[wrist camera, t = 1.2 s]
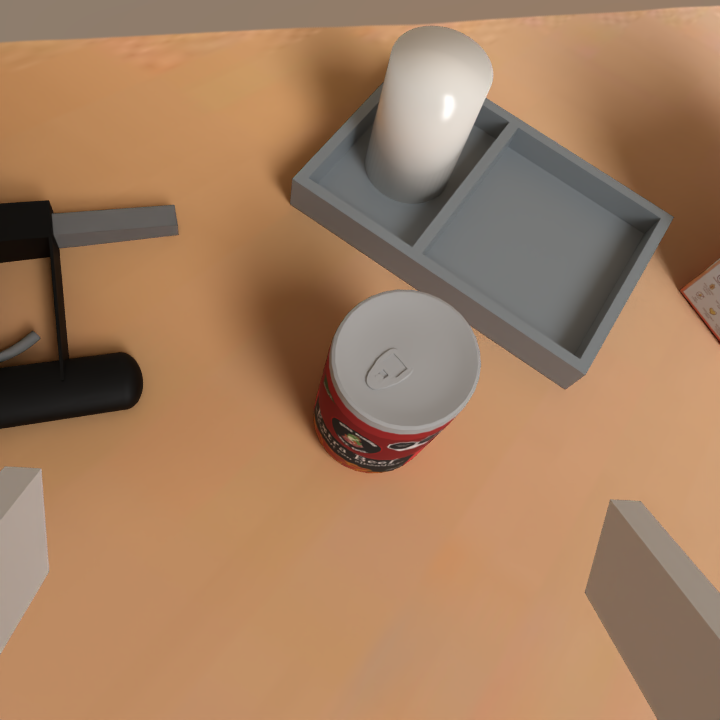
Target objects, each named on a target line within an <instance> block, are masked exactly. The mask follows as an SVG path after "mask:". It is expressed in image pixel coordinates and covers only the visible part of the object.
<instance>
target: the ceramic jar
mask: <svg viewBox="0 0 720 720" xmlns="http://www.w3.org/2000/svg"><path fill="white" fill-rule="evenodd" d="M492 81H493V68H492V64H491V62H490V59H489V57H488V56H487V54H486V53H485V51H484V50H483V49H482V48H481V47H480V45H479V44H477V43H476V42H475V41H474V40H473V39H471V38H470V37H468V36H466V35H465V34H463V33H461V32H458V31H456V30H453V29H450V28H446V27H440V26H423V27H418V28H414V29H412V30H409V31H407V32H406V33H404V34H403V35H402V36H400V37H399V38H398V40H397V41H396V42H395V44H394V46H393V48H392V51H391V55H390V59H389V63H388V67H387V72H386V76H385V80H384V84H383V88H382V92H381V96H380V100H379V104H378V109H377V113H376V117H375V121H374V125H373V129H372V133H371V137H370V142H369V146H368V150H367V154H366V159H365V168H366V172H367V175H368V177H369V180H370V181H371V183H372V184H373V185H374V186H375V188H376V189H377V190H378V191H380V192H381V193H382V194H383V195H385V196H387V197H388V198H390V199H393V200H395V201H398V202H402V203H408V204H419V203H424V202H428V201H430V200H432V199H434V198H436V197H437V196H438V195H440V194H441V193H442V192H443V190H444V189H445V187H446V185H447V183H448V181H449V179H450V176H451V174H452V172H453V170H454V167H455V165H456V163H457V161H458V158H459V156H460V154H461V152H462V150H463V147H464V145H465V143H466V141H467V138H468V136H469V134H470V132H471V129H472V127H473V125H474V123H475V120H476V118H477V116H478V114H479V112H480V109H481V107H482V105H483V103H484V100H485V98H486V96H487V94H488V91H489V89H490V87H491V85H492Z"/></svg>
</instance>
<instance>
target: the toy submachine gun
mask: <svg viewBox="0 0 720 720" xmlns="http://www.w3.org/2000/svg"><path fill="white" fill-rule="evenodd" d="M173 235H178V224H177V218H176V212H175V206H174V205H166V206H152V207H138V208H124V209H111V210H97V211H83V212H69V213H55V214H54V212H53V210H52V207H51V205H50V202H49V200H47V201H32V202H17V203H2V204H0V263H3V262H12V261H20V260H29V259H37V258H45V257H50V259H51V270H52V282H53V294H54V305H55V317H56V329H57V341H58V352H59V360H58V361H50V362H42V363H35V364H27V365H19V366H12V367H4V368H0V429H2V428H9V427H15V426H22V425H28V424H35V423H41V422H48V421H54V420H61V419H67V418H74V417H80V416H87V415H93V414H100V413H106V412H113V411H119V410H126V409H130V408H132V407H133V406H134V405H135V404H136V403H137V402H138V401H139V399H140V397H141V394H142V389H143V378H142V373H141V370H140V367H139V365H138V363H137V362H136V361H135V359H134V358H133V357H131V356H130V355H129V354H126V353H122V352H119V353H111V354H104V355H96V356H88V357H81V358H73V359H69V353H68V342H67V331H66V320H65V309H64V297H63V286H62V275H61V264H60V250H59V248H67V247H78V246H87V245H95V244H104V243H113V242H121V241H130V240H138V239H147V238H156V237H164V236H173ZM39 339H41V338H40V337H39V336H38V335H37V334H36V333H35V332H33V331H32V332H30V333H29V334H28V335H27V336H26V337H24V338H23V339H22V340H20V341H19V342H18V343H16V344H14V345H13V346H11V347H9V348H8V349H6V350H4V351H2V352H0V362H3V361H6V360H8V359H11V358H13V357H15V356H17V355H18V354H20V353H22V352H23V351H25V350H27V349H28V348H29V347H31V346H32V345H33V344H35V343H36V342H37V341H38V340H39Z"/></svg>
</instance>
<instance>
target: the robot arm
mask: <svg viewBox="0 0 720 720" xmlns="http://www.w3.org/2000/svg"><path fill="white" fill-rule="evenodd" d="M48 573H49V563H48V550H47V537H46V524H45V510H44V497H43V484H42V471H41V468H23V467H4V468H3V469H2V470H1V471H0V654H1V652H2V650H3V649H4V647H5V645H6V644H7V642H8V640H9V639H10V637H11V635H12V634H13V632H14V630H15V628H16V627H17V625H18V623H19V622H20V620H21V618H22V617H23V615H24V613H25V612H26V610H27V608H28V606H29V605H30V603H31V601H32V600H33V598H34V596H35V595H36V593H37V591H38V590H39V588H40V586H41V584H42V583H43V581H44V579H45V578H46V576H47V574H48ZM585 594H586V596H587V597H588V599H589V601H590V603H591V604H592V606H593V608H594V610H595V611H596V613H597V615H598V617H599V618H600V620H601V622H602V624H603V625H604V627H605V629H606V630H607V632H608V634H609V636H610V637H611V639H612V641H613V643H614V644H615V646H616V648H617V650H618V651H619V653H620V655H621V657H622V658H623V660H624V662H625V664H626V665H627V667H628V669H629V671H630V672H631V674H632V676H633V678H634V679H635V681H636V683H637V684H638V686H639V688H640V690H641V691H642V693H643V695H644V697H645V698H646V700H647V702H648V704H649V705H650V707H651V709H652V711H653V712H654V714H655V716H656V718H657V719H658V720H720V593H719V592H718V591H717V590H716V588H715V587H714V586H713V585H712V584H711V583H710V581H709V580H708V579H707V578H706V577H705V576H704V574H703V573H702V572H701V571H700V570H699V569H698V567H697V566H696V565H695V564H694V563H693V562H692V560H691V559H690V558H689V557H688V556H687V555H686V553H685V552H684V551H683V550H682V549H681V548H680V547H679V545H678V544H677V543H676V542H675V541H674V540H673V538H672V537H671V536H670V535H669V534H668V533H667V531H666V530H665V529H664V528H663V527H662V526H661V524H660V523H659V522H658V521H657V520H656V519H655V517H654V516H653V515H652V514H651V513H650V512H649V510H648V509H647V508H646V507H645V506H644V505H643V503H642V502H641V501H630V500H611V499H610V502H609V506H608V509H607V513H606V517H605V520H604V524H603V528H602V531H601V535H600V539H599V542H598V546H597V550H596V553H595V557H594V561H593V564H592V568H591V572H590V575H589V579H588V583H587V586H586V590H585Z"/></svg>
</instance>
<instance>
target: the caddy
mask: <svg viewBox="0 0 720 720" xmlns="http://www.w3.org/2000/svg"><path fill="white" fill-rule="evenodd" d="M383 84H384V82H383V83H382V84H381V85H380V86H379V87H378V88H377V89H376V91H375V92H374V93H373V94H372V95H371V96H370V97H369V98H368V99H367V100H366V101H365V102H364V103H363V104H362V105H361V106H360V108H359V109H358V110H357V111H356V112H355V113H354V114H353V115H352V116H351V117H350V118H349V119H348V120H347V121H346V122H345V123H344V124H343V126H342V127H341V128H340V129H339V130H338V131H337V132H336V133H335V134H334V135H333V136H332V137H331V138H330V139H329V140H328V141H327V143H326V144H325V145H324V146H323V147H322V148H321V149H320V150H319V151H318V152H317V153H316V154H315V155H314V156H313V157H312V158H311V159H310V161H309V162H308V163H307V164H306V165H305V166H304V167H303V168H302V169H301V170H300V171H299V172H298V173H297V174H296V175H295V176H294V178H293V179H292V188H291V200H290V204H291V205H292V206H294V207H295V208H297V209H298V210H300V211H301V212H303V213H304V214H306V215H307V216H309V217H310V218H312V219H313V220H315V221H316V222H318V223H319V224H320V225H322V226H323V227H325V228H326V229H328V230H329V231H331V232H332V233H334V234H335V235H337V236H338V237H340V238H341V239H343V240H344V241H346V242H347V243H349V244H350V245H352V246H353V247H355V248H356V249H358V250H359V251H361V252H362V253H363V254H365V255H366V256H368V257H369V258H371V259H372V260H374V261H375V262H377V263H378V264H380V265H381V266H383V267H384V268H386V269H387V270H389V271H390V272H392V273H393V274H395V275H396V276H398V277H399V278H401V279H402V280H404V281H405V282H406V283H408V284H409V285H411V286H412V287H414V288H415V289H417V290H418V291H420V292H424V293H428V294H430V295H433V296H435V297H438V298H440V299H441V300H443V301H445V302H446V303H448V304H450V305H451V306H452V307H453V308H454V309H456V310H457V311H458V312H459V313H460V314H461V315H462V316H463V317H464V319H465V320H466V321H467V323H468V324H469V325H470V326H472V327H473V328H475V329H476V330H478V331H479V332H481V333H482V334H484V335H485V336H487V337H488V338H490V339H491V340H493V341H494V342H495V343H497V344H498V345H500V346H501V347H503V348H504V349H506V350H507V351H509V352H510V353H512V354H513V355H515V356H516V357H518V358H519V359H521V360H522V361H524V362H525V363H527V364H528V365H530V366H531V367H533V368H534V369H536V370H537V371H538V372H540V373H541V374H543V375H544V376H546V377H547V378H549V379H550V380H552V381H553V382H555V383H556V384H558V385H559V386H561V387H562V388H564V389H567V388H568V387H569V386H571V385H572V384H574V383H575V382H576V381H578V380H579V379H580V378H582V377H583V376H585V375H586V373H587V371H588V369H589V368H590V366H591V364H592V362H593V360H594V359H595V357H596V355H597V353H598V352H599V350H600V348H601V346H602V344H603V343H604V341H605V339H606V337H607V335H608V334H609V332H610V330H611V328H612V327H613V325H614V323H615V321H616V319H617V318H618V316H619V314H620V312H621V311H622V309H623V307H624V305H625V303H626V302H627V300H628V298H629V296H630V295H631V293H632V291H633V289H634V287H635V286H636V284H637V282H638V280H639V278H640V277H641V275H642V273H643V271H644V270H645V268H646V266H647V264H648V262H649V261H650V259H651V257H652V255H653V254H654V252H655V250H656V248H657V246H658V245H659V243H660V241H661V239H662V237H663V236H664V234H665V232H666V230H667V229H668V227H669V225H670V223H671V221H672V220H673V218H674V217H673V216H671V215H670V214H668V213H667V212H665V211H663V210H662V209H660V208H659V207H657V206H656V205H654V204H652V203H651V202H649V201H648V200H646V199H645V198H643V197H641V196H640V195H638V194H637V193H635V192H633V191H632V190H630V189H629V188H627V187H626V186H624V185H622V184H621V183H619V182H618V181H616V180H615V179H613V178H611V177H610V176H608V175H607V174H605V173H604V172H602V171H600V170H599V169H597V168H596V167H594V166H593V165H591V164H589V163H588V162H586V161H585V160H583V159H581V158H580V157H578V156H577V155H575V154H574V153H572V152H570V151H569V150H567V149H566V148H564V147H563V146H561V145H559V144H558V143H556V142H555V141H553V140H552V139H550V138H548V137H547V136H545V135H544V134H542V133H540V132H539V131H537V130H536V129H534V128H533V127H531V126H529V125H528V124H526V123H525V122H523V121H522V120H520V119H518V118H517V117H515V116H514V115H512V114H511V113H509V112H507V111H506V110H504V109H503V108H501V107H499V106H498V105H496V104H495V103H493V102H492V101H490V100H488V99H487V98H485V100H484V103H483V105H482V107H481V109H480V112H479V114H478V116H477V118H476V120H475V123H474V125H473V127H472V129H471V132H470V134H469V136H468V138H467V141H466V143H465V145H464V147H463V150H462V152H461V154H460V156H459V158H458V161H457V163H456V165H455V167H454V170H453V172H452V174H451V176H450V179H449V181H448V183H447V185H446V187H445V189H444V190H443V192H442V193H441V194H440V195H438V196H437V197H436V198H434V199H432V200H430V201H428V202H424V203H419V204H408V203H402V202H398V201H395V200H393V199H390V198H388V197H387V196H385V195H383V194H382V193H381V192H380V191H378V190H377V189H376V188H375V186H374V185H373V184H372V183H371V181H370V180H369V177H368V175H367V172H366V168H365V159H366V154H367V150H368V146H369V142H370V137H371V133H372V129H373V125H374V121H375V117H376V113H377V109H378V104H379V100H380V96H381V92H382V88H383Z"/></svg>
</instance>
